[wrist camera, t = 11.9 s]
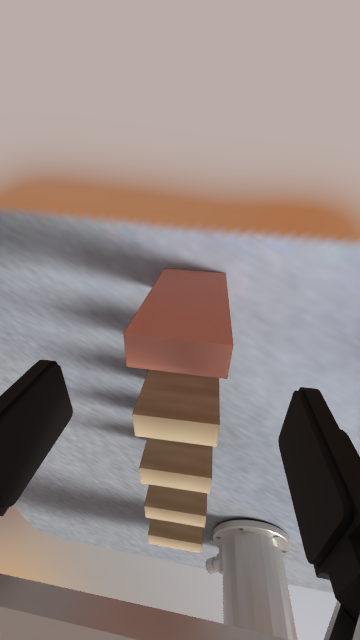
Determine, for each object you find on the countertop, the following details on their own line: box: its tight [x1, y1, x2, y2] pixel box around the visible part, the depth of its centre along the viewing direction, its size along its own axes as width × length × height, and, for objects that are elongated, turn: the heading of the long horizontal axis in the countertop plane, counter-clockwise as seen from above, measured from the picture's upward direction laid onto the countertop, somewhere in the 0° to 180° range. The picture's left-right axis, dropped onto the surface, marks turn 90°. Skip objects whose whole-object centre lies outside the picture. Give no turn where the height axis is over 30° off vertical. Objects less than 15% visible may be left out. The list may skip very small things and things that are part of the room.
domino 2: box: [132, 370, 220, 447], centre depth 18 cm, size 2×5×10 cm, turn 89°
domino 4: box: [144, 484, 207, 528], centre depth 24 cm, size 2×5×10 cm, turn 89°
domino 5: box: [148, 518, 203, 553], centre depth 26 cm, size 2×5×10 cm, turn 89°
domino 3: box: [139, 438, 212, 494], centre depth 21 cm, size 2×5×10 cm, turn 90°
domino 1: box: [124, 268, 233, 379], centre depth 15 cm, size 2×5×10 cm, turn 88°
